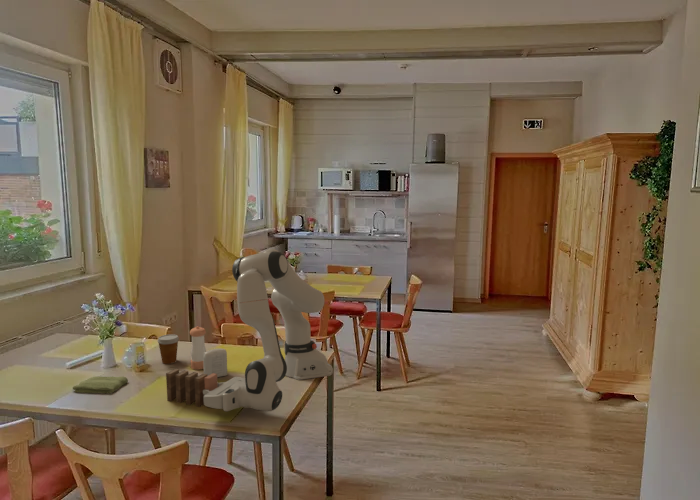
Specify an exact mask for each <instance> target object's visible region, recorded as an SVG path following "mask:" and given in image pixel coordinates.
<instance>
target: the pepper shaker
mask: <svg viewBox="0 0 700 500" xmlns="http://www.w3.org/2000/svg"><path fill="white" fill-rule="evenodd" d="M206 333H207V331H206V329H205V328H204V327H200V326H198V325H197V326H195V327H193V328H191V329H190V330H189V335H190V336H191V351H190V358H191V359H190V368H191V370H195V371H196V370H204V363H203V355H204V353H205V352H207V349H206V346H205V335H206Z"/></svg>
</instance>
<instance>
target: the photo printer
mask: <svg viewBox="0 0 700 500" xmlns="http://www.w3.org/2000/svg"><path fill="white" fill-rule="evenodd" d="M203 363H204V369H203V374H207V376H209V375H210V374H212V373H215V374H217V378H221V377H224V376H228V353H227V350H226V349H225V348H213V349H208V350H206V352H205V353H204V355H203Z"/></svg>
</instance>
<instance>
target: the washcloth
mask: <svg viewBox="0 0 700 500" xmlns="http://www.w3.org/2000/svg"><path fill="white" fill-rule="evenodd" d="M128 381H129V379H128V378H127V377H126V376H124V375H123V376H92V377H89V378H87V379H85V380H83V381H81V382H79V383H78V384H76V385H73V386H72V390H73V391H74V393H75V392H76V394H77V393H78V392H79V393H78V394H80V393H81V394H83V393H84V394H113V393H114V392H116V391H117V390H119V388H120V387H121V388H122V387H123V386H124V385H126V384H127V383H129V382H128Z"/></svg>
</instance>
